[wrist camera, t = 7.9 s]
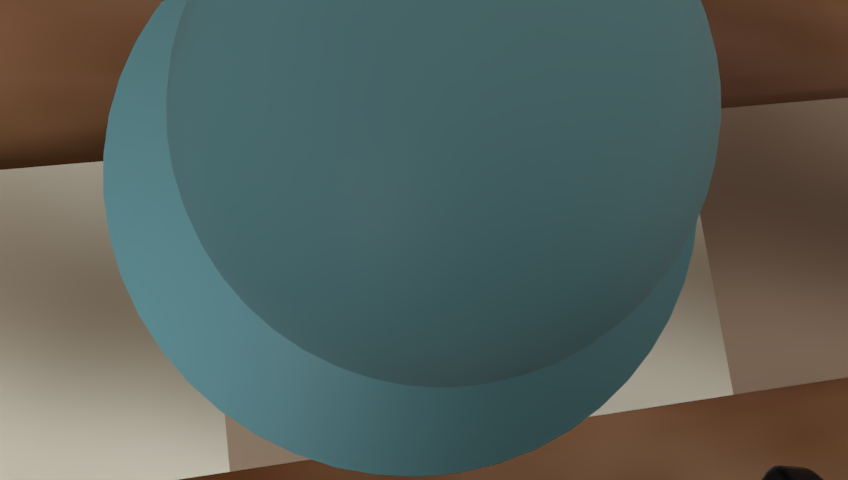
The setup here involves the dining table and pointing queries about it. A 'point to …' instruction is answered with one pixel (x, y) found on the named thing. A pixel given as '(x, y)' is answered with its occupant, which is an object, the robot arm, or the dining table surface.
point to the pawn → (411, 212)
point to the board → (241, 449)
